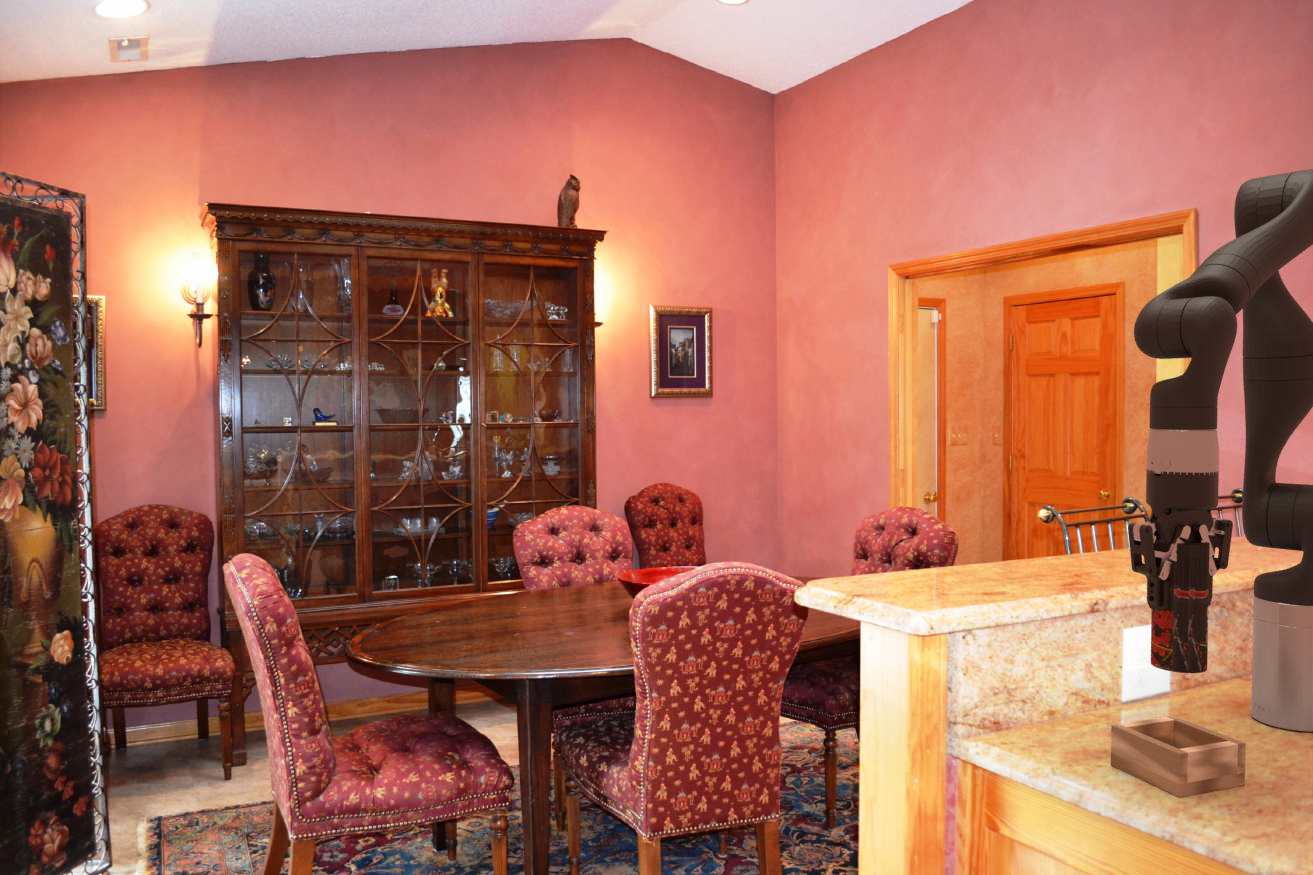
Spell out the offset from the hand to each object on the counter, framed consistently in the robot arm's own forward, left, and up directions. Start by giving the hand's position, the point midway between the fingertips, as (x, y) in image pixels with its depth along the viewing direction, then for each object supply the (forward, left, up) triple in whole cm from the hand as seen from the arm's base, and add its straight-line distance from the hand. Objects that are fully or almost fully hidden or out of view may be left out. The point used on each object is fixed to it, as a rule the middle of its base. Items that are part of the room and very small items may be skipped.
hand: (1179, 607), depth 113 cm
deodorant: (0, 0, -7) cm, 7 cm away
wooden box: (0, 0, -20) cm, 20 cm away
